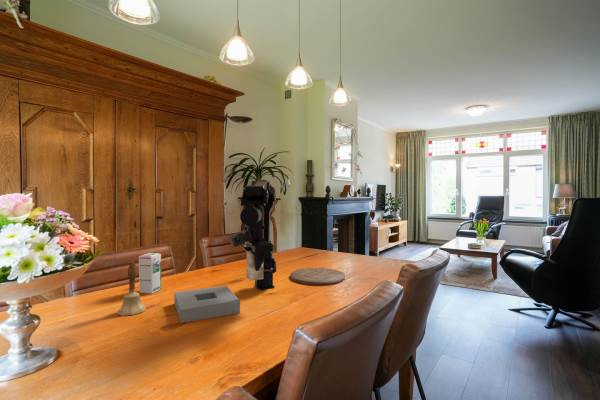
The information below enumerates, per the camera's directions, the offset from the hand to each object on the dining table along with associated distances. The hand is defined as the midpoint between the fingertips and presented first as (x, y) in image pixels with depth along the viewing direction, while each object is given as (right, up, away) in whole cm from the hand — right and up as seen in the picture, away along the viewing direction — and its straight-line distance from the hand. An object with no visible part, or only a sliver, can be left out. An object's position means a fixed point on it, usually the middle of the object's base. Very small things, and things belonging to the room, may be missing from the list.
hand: (254, 269), depth 105 cm
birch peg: (0, -3, 0) cm, 3 cm away
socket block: (-16, -13, -1) cm, 21 cm away
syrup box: (-43, -13, +17) cm, 48 cm away
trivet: (+23, -13, +39) cm, 47 cm away
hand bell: (-39, -13, -4) cm, 42 cm away
